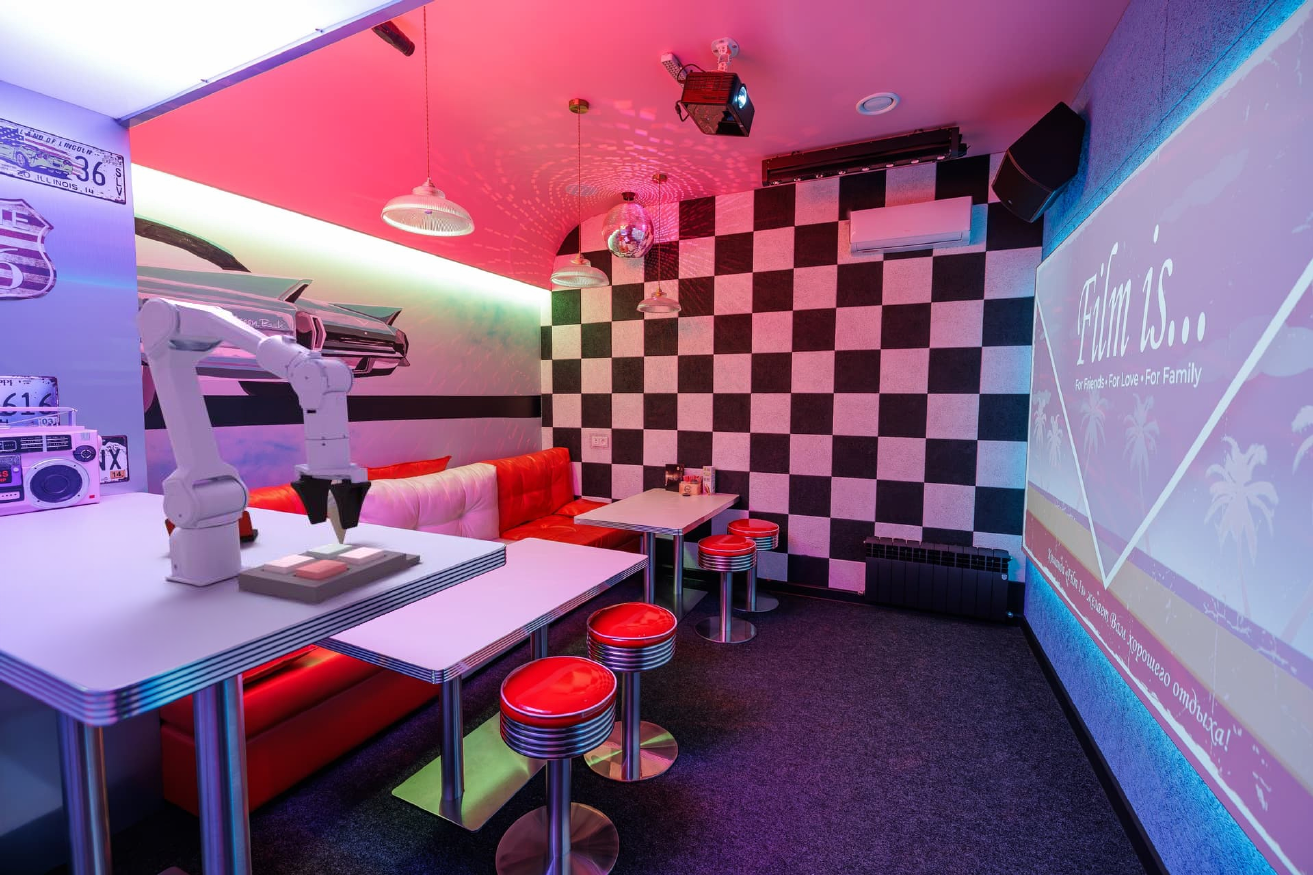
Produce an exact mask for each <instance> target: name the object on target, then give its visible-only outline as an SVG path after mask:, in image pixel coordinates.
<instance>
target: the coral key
mask: <svg viewBox="0 0 1313 875" xmlns="http://www.w3.org/2000/svg"><path fill="white" fill-rule="evenodd" d="M295 570H296V577H300V578H306V579H311V580H317V581H319V580H322V579H324V578H327V577H330V576H333V575H335V574H338V573H341V572H344V571H346V570H347V563H344V562H338V561H331V560H322V561H319V562H316V563H313V564H309V565H306V566H303V567H300V568H297V569H295Z"/></svg>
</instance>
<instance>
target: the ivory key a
mask: <svg viewBox="0 0 1313 875" xmlns="http://www.w3.org/2000/svg"><path fill="white" fill-rule="evenodd" d="M313 563H315V558H313V557H306V556H300V555H298V554H292V555H288V556H285V557H281V558H278V559H274V560H271V561H268V562H265V563H263V565H264V571H267V572H272V573H278V574H283V575H286V574H289V573H292V572H295V571H296V570H295V569H297V568H300V567H303V566H306V565H309V564H313Z"/></svg>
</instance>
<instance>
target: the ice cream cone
mask: <svg viewBox="0 0 1313 875" xmlns="http://www.w3.org/2000/svg"><path fill="white" fill-rule="evenodd" d="M336 483H342V481H341V480H332V483H331V484H336ZM327 517H328V519H329V520H330V523H331V526H332V528H333V531H334V533H335V536H336V538H337V540H338V544H344V540H345V538H346V534H347V530H348V529H346V530H344V529H342V527H341V524H340V519H339V513H338V508H337V504H336V501H335V499H334V497H333V494H332V493H331V491H330V489H329V494H328V508H327Z"/></svg>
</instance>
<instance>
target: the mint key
mask: <svg viewBox="0 0 1313 875" xmlns="http://www.w3.org/2000/svg"><path fill="white" fill-rule="evenodd" d="M353 546H354V545H352V546H351V544H345V545H344V543H343V544H339V542H331V543H328V544H325V545H322V546H318V547H317V546H316V547H314V548H310V549H308V550H306V552H307V557H313V558H315V559H319V560H331V559H334V558H337V555H340V554H343V553H346V552H349V551H352V550H353Z"/></svg>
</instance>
